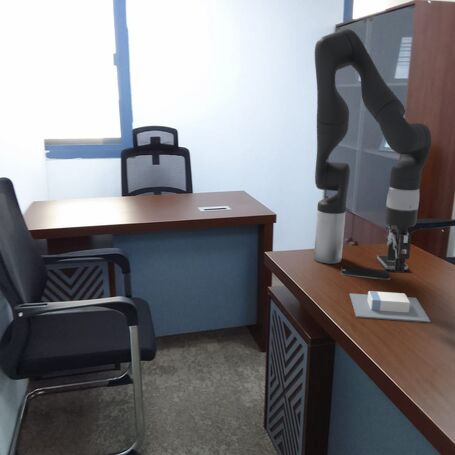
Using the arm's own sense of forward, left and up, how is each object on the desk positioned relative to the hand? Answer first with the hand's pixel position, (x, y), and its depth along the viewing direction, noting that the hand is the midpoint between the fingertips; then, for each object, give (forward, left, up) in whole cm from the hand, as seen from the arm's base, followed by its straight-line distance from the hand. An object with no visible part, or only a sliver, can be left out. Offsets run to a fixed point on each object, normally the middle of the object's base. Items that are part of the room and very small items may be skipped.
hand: (394, 266), depth 121 cm
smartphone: (-25, -3, -12) cm, 28 cm away
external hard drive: (-34, +7, -12) cm, 36 cm away
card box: (0, -1, -11) cm, 11 cm away
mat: (0, -1, -12) cm, 12 cm away
